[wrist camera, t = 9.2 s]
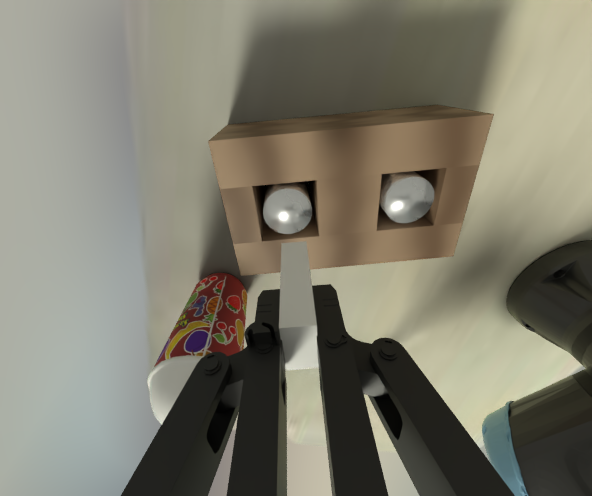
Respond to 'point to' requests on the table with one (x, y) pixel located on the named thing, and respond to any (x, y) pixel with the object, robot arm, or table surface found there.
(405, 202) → the peg
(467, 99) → the table surface
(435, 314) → the table surface
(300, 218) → the peg
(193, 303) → the smoothie
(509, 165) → the table surface
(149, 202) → the table surface
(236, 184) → the block
